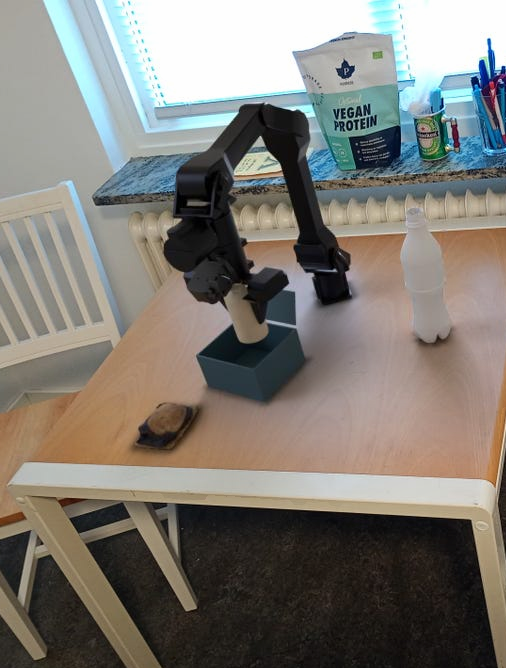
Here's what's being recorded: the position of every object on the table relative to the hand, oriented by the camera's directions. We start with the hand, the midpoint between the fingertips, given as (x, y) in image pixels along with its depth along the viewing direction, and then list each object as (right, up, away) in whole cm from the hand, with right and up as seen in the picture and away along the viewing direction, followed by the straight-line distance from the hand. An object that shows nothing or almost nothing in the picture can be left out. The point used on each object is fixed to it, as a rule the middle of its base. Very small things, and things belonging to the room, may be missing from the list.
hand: (248, 320), depth 125 cm
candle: (+1, -3, +2) cm, 3 cm away
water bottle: (+33, -2, +9) cm, 34 cm away
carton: (0, -9, +9) cm, 13 cm away
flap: (+2, +3, +7) cm, 8 cm away
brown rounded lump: (-14, -19, +1) cm, 24 cm away
